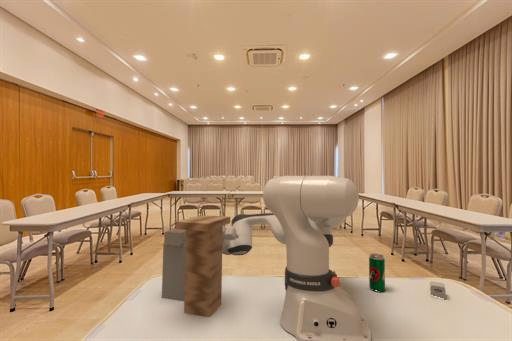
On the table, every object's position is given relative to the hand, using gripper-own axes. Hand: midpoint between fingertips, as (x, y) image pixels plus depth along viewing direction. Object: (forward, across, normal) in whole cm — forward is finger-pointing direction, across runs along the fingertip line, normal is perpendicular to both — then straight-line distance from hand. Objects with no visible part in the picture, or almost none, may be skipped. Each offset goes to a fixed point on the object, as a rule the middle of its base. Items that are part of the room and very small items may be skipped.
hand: (206, 225), depth 107 cm
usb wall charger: (-15, -83, -15) cm, 86 cm away
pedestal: (+3, 0, -25) cm, 25 cm away
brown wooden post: (+13, -12, -30) cm, 35 cm away
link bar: (+8, 0, -8) cm, 12 cm away
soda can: (-14, -64, -16) cm, 67 cm away
